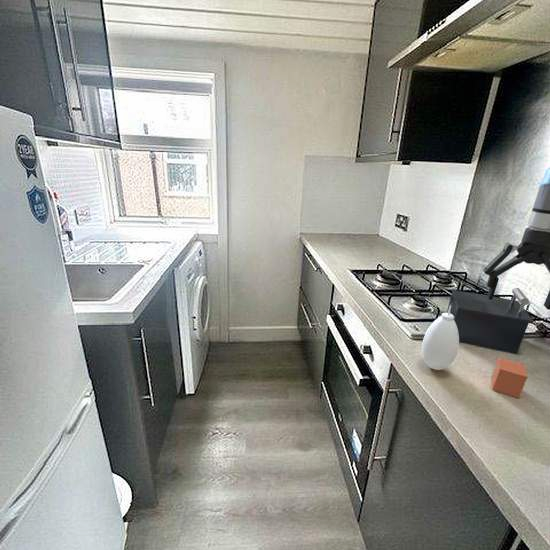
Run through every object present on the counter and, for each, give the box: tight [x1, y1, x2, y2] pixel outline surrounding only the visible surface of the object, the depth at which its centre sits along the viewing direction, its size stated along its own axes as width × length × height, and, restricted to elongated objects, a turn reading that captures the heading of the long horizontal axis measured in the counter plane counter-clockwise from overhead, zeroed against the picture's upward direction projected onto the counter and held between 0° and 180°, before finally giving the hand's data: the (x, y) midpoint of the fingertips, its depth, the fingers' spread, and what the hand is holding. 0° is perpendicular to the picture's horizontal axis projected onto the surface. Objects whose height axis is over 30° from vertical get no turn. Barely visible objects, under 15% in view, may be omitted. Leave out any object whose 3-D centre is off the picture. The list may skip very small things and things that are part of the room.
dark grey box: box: [446, 293, 530, 355], centre depth 91 cm, size 17×14×10 cm
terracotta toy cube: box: [490, 357, 528, 399], centre depth 70 cm, size 5×5×6 cm
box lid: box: [451, 287, 534, 325], centre depth 88 cm, size 18×14×6 cm
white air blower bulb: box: [421, 305, 460, 371], centre depth 74 cm, size 8×8×18 cm
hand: (517, 302), depth 86 cm, fingers open, 13 cm apart
